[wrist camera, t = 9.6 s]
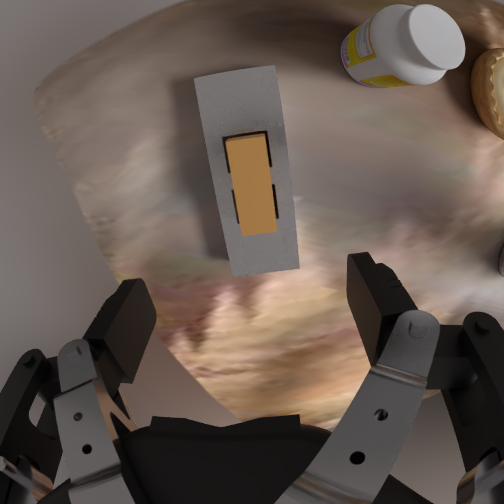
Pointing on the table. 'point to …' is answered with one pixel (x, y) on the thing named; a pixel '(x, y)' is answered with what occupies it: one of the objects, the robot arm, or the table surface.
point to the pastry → (489, 89)
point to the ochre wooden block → (252, 184)
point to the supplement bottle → (403, 47)
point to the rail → (215, 131)
